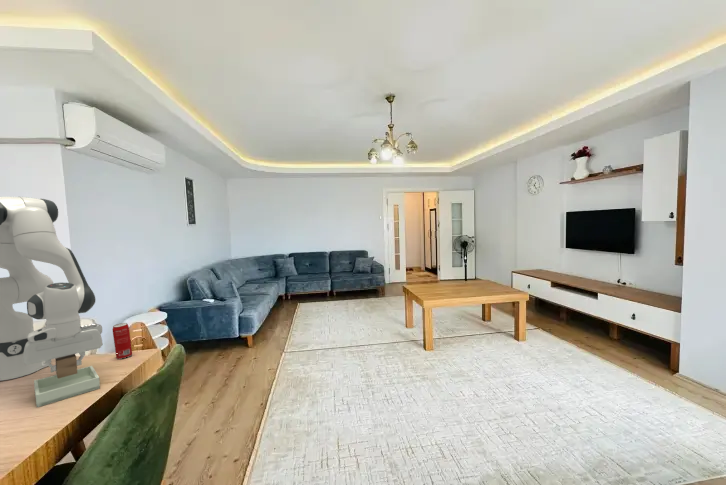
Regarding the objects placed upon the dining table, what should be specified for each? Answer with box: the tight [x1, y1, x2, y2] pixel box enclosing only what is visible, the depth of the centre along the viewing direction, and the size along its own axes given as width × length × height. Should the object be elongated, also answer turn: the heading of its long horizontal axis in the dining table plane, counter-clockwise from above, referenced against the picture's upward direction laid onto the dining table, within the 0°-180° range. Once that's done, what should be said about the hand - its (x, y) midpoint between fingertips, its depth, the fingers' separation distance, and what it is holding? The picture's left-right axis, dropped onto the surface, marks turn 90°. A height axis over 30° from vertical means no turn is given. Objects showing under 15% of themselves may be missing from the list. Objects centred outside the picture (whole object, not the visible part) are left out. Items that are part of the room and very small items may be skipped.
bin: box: [33, 365, 101, 408], centre depth 111 cm, size 16×16×4 cm
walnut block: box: [54, 354, 78, 378], centre depth 111 cm, size 5×5×6 cm
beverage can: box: [112, 322, 133, 360], centre depth 140 cm, size 6×6×15 cm
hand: (66, 368), depth 111 cm, fingers closed on walnut block, 5 cm apart
